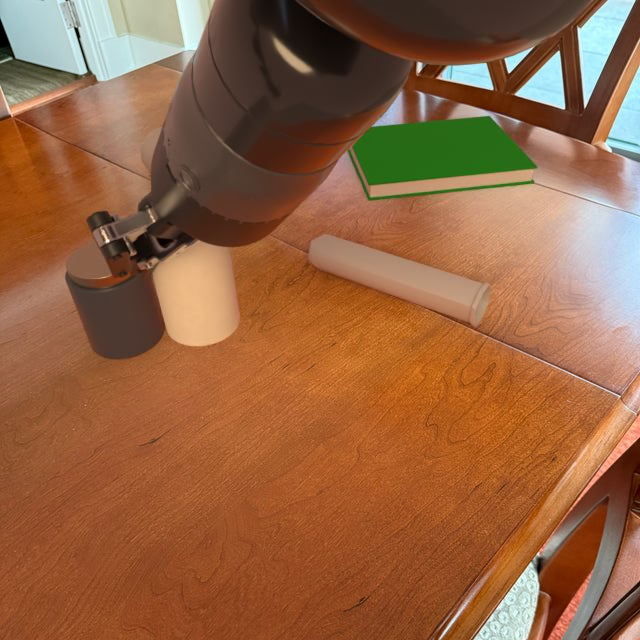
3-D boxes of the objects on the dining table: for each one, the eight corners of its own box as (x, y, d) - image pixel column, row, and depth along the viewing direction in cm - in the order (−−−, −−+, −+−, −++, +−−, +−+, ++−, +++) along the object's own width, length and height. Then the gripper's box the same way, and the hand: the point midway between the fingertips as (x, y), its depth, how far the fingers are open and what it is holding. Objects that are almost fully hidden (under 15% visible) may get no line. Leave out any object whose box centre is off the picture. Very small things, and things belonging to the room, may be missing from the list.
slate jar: (106, 370, 69) (77, 292, 62) (79, 330, 75) (49, 254, 68) (176, 337, 73) (157, 260, 66) (146, 302, 79) (124, 227, 72)
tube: (296, 249, 80) (473, 310, 69) (317, 221, 82) (492, 275, 71) (306, 274, 84) (473, 334, 73) (325, 246, 86) (491, 301, 75)
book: (534, 183, 100) (537, 166, 98) (368, 200, 97) (368, 183, 95) (486, 129, 117) (488, 114, 115) (344, 143, 114) (344, 127, 112)
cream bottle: (187, 357, 43) (149, 200, 35) (154, 318, 46) (112, 167, 38) (254, 325, 45) (233, 172, 37) (217, 290, 49) (191, 143, 41)
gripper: (333, 40, 31) (241, 172, 46) (57, 109, 25) (55, 236, 40) (397, 170, 31) (284, 259, 46) (138, 272, 25) (106, 337, 40)
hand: (178, 248), depth 43 cm, fingers closed on cream bottle, 5 cm apart
